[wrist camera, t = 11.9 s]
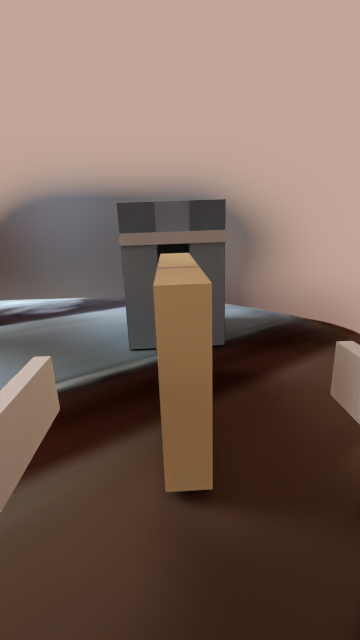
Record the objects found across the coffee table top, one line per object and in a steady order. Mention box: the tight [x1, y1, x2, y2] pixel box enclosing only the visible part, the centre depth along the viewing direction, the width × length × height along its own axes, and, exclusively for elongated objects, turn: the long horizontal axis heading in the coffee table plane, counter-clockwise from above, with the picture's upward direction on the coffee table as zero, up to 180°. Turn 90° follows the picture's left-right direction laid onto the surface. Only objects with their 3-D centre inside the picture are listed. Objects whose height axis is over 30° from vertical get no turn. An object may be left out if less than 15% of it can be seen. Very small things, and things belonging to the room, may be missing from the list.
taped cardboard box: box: [153, 253, 213, 492], centre depth 22 cm, size 15×3×11 cm, turn 2°
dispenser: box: [117, 199, 226, 349], centre depth 40 cm, size 13×11×16 cm
